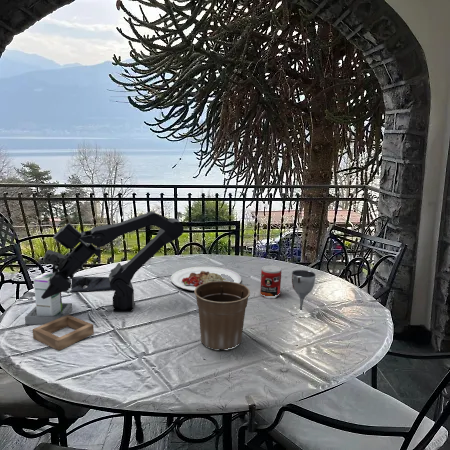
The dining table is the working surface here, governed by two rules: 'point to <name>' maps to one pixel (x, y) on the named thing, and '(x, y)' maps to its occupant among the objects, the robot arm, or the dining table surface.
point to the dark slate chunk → (90, 284)
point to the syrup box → (50, 304)
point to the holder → (35, 319)
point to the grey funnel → (303, 283)
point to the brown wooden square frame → (64, 341)
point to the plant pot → (221, 313)
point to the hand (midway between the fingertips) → (43, 292)
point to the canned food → (270, 280)
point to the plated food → (201, 276)
